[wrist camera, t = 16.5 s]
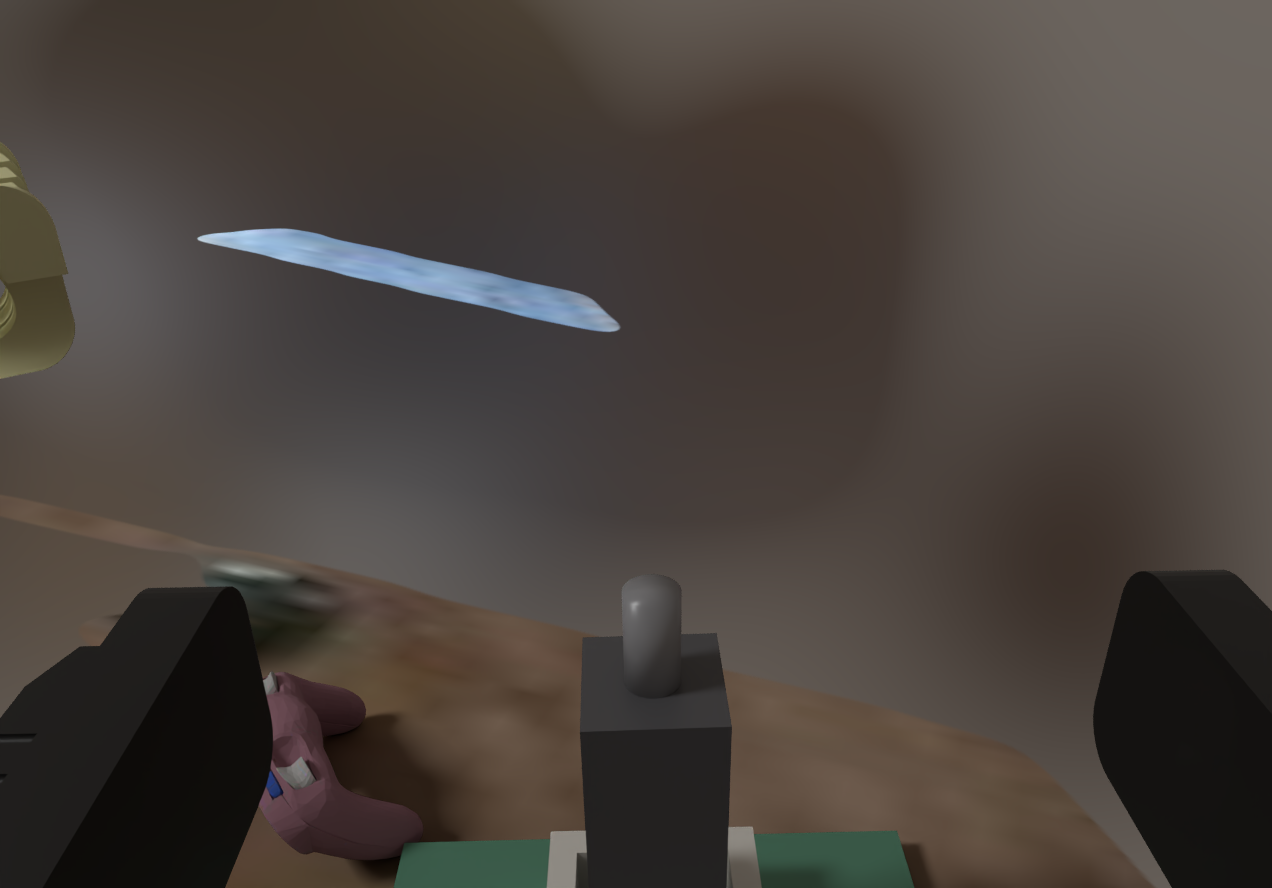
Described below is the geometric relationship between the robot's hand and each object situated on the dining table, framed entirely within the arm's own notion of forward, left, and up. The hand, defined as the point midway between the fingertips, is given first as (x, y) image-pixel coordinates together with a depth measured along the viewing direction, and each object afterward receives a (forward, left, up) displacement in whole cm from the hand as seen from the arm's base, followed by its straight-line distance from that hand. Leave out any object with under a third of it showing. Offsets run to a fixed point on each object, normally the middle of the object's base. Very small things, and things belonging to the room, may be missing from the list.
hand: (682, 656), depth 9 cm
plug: (0, +15, -27) cm, 31 cm away
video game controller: (-14, +25, -28) cm, 40 cm away
